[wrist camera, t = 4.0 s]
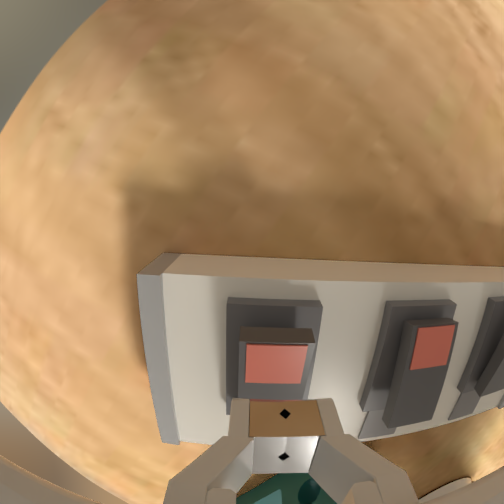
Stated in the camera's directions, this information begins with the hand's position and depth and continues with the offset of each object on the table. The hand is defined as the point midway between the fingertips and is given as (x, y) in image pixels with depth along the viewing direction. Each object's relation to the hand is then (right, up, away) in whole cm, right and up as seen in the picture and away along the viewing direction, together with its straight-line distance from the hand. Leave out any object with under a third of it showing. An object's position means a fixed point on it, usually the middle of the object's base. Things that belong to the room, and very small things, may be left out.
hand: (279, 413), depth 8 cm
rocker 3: (+16, -2, +5) cm, 17 cm away
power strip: (+8, -2, +11) cm, 14 cm away
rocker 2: (+8, -2, +5) cm, 9 cm away
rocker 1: (0, -1, +5) cm, 5 cm away
